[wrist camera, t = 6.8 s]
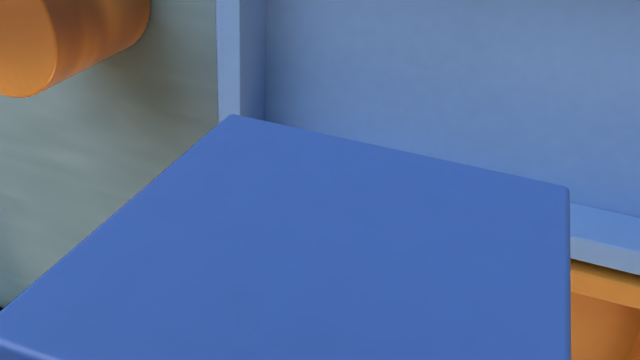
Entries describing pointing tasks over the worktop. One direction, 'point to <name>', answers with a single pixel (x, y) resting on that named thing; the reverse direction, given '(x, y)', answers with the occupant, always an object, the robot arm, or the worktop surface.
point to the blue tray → (460, 91)
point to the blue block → (310, 260)
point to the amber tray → (604, 313)
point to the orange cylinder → (62, 39)
